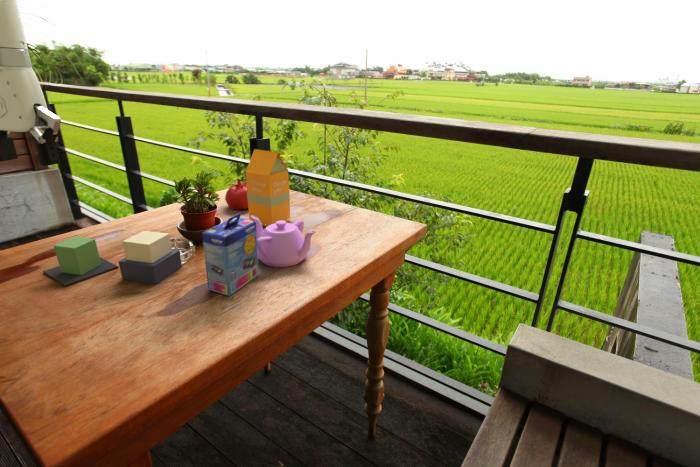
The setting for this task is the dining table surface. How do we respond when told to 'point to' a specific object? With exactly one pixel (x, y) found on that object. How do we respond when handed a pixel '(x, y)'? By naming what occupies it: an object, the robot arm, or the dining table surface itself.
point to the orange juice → (268, 187)
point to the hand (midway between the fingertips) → (29, 162)
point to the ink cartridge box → (230, 254)
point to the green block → (77, 255)
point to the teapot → (282, 243)
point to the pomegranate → (237, 196)
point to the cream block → (147, 246)
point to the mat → (71, 279)
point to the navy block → (151, 268)
